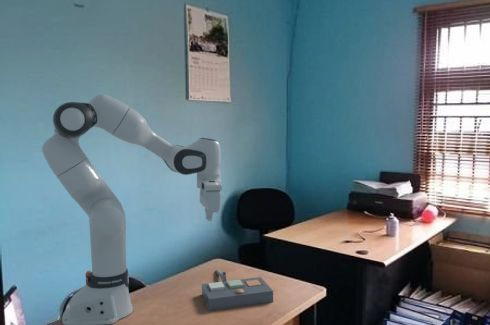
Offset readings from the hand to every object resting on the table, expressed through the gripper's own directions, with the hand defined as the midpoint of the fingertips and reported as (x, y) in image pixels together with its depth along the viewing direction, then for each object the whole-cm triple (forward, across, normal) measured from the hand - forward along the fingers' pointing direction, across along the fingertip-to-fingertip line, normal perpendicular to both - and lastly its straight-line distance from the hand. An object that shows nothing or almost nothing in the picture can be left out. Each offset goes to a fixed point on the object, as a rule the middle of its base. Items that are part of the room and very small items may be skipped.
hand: (209, 219), depth 155 cm
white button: (+26, +5, +2) cm, 26 cm away
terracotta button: (+26, +5, +16) cm, 31 cm away
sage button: (+26, +5, +9) cm, 28 cm away
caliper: (+28, -13, +8) cm, 32 cm away
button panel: (+28, +7, +9) cm, 30 cm away
